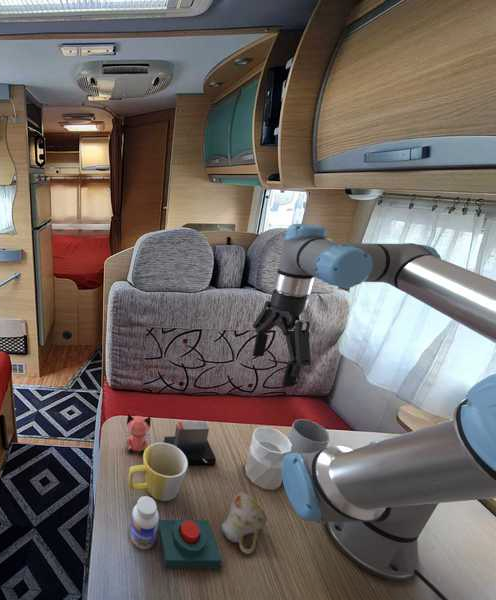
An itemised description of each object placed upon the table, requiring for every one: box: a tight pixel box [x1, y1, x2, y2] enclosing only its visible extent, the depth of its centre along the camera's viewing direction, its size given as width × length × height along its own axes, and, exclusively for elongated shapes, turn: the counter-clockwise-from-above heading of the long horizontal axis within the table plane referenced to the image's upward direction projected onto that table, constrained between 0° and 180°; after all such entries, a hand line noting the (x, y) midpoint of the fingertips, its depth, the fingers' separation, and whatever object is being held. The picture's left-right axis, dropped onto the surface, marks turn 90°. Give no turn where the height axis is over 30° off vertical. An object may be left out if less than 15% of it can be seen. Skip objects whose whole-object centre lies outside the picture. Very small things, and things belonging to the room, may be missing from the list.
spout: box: [174, 421, 210, 451], centre depth 89 cm, size 8×3×8 cm, turn 93°
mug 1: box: [127, 442, 189, 502], centre depth 79 cm, size 14×10×10 cm
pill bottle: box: [130, 495, 160, 550], centre depth 69 cm, size 5×5×10 cm
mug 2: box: [221, 492, 268, 555], centre depth 71 cm, size 8×10×10 cm
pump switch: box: [157, 517, 222, 568], centre depth 68 cm, size 11×8×4 cm
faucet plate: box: [163, 435, 217, 467], centre depth 91 cm, size 12×11×3 cm
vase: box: [244, 426, 292, 491], centre depth 83 cm, size 9×9×12 cm
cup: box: [288, 418, 331, 454], centre depth 89 cm, size 8×8×10 cm
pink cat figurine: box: [126, 413, 151, 456], centre depth 90 cm, size 7×7×12 cm
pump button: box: [180, 520, 199, 544], centre depth 67 cm, size 4×4×2 cm
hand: (271, 369), depth 84 cm, fingers open, 13 cm apart
